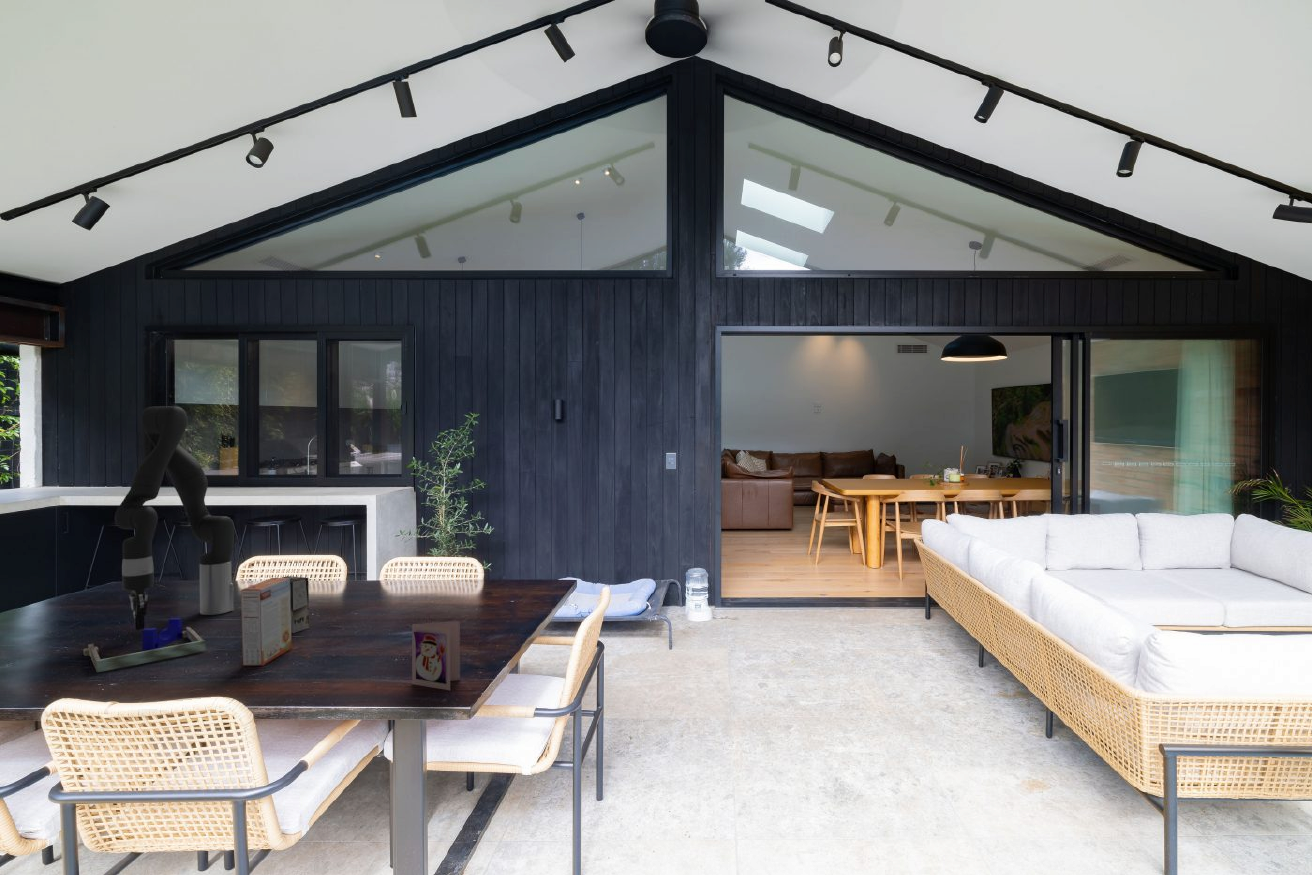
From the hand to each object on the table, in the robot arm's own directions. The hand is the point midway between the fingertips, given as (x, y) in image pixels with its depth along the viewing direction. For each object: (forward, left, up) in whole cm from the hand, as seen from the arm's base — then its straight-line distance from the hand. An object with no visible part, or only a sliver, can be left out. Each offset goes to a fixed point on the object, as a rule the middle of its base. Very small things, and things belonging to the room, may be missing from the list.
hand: (139, 628), depth 204 cm
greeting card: (-48, +96, -3) cm, 107 cm away
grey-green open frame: (0, +16, -3) cm, 16 cm away
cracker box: (-23, +45, -3) cm, 51 cm away
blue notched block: (-4, +9, -4) cm, 11 cm away
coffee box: (-36, +21, -3) cm, 42 cm away
